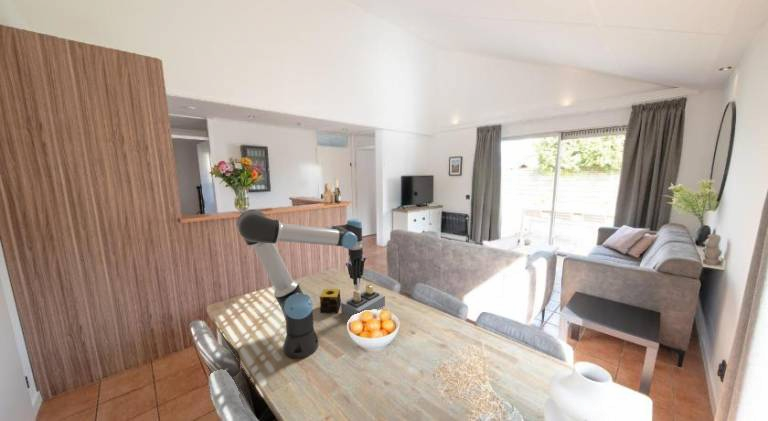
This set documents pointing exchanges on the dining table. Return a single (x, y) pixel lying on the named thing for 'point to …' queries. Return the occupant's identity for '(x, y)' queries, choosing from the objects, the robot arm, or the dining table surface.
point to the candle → (330, 301)
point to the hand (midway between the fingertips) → (357, 289)
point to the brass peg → (369, 290)
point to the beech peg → (357, 297)
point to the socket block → (363, 304)
